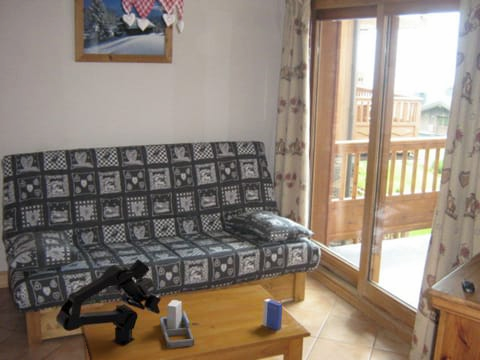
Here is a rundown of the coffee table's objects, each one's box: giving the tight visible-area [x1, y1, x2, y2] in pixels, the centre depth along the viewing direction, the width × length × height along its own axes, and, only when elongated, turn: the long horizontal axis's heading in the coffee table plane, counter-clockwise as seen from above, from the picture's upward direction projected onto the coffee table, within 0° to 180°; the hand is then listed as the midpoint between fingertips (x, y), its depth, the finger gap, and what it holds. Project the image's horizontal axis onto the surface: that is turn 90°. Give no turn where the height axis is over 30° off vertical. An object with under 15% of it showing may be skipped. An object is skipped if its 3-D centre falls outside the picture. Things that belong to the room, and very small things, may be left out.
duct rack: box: [159, 310, 195, 349], centre depth 242 cm, size 20×11×5 cm, turn 16°
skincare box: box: [166, 299, 183, 330], centre depth 246 cm, size 6×4×12 cm
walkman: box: [262, 298, 283, 331], centre depth 251 cm, size 8×3×12 cm, turn 54°
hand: (151, 310), depth 242 cm, fingers open, 9 cm apart
